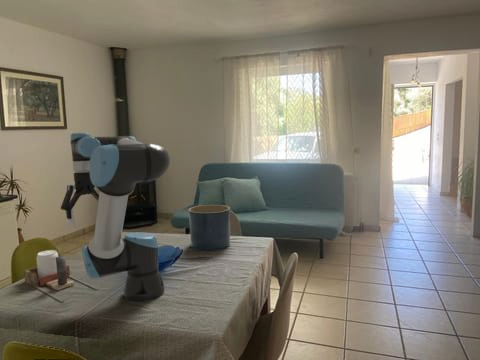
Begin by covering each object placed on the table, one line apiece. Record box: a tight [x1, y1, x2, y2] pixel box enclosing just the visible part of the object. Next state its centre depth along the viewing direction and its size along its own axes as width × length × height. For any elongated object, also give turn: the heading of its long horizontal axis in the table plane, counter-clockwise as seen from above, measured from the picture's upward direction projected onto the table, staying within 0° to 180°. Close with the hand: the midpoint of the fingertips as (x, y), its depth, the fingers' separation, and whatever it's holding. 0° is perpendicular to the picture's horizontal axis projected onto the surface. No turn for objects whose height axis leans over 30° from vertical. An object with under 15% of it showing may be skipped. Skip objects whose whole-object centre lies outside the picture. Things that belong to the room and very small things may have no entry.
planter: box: [188, 204, 231, 252], centre depth 199 cm, size 22×22×20 cm
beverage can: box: [36, 249, 59, 282], centre depth 155 cm, size 8×8×12 cm
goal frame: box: [23, 263, 71, 288], centre depth 157 cm, size 10×14×5 cm
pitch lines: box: [34, 274, 99, 303], centre depth 147 cm, size 23×14×1 cm, turn 51°
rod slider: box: [38, 255, 75, 291], centre depth 149 cm, size 10×11×12 cm
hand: (88, 223), depth 149 cm, fingers open, 13 cm apart
